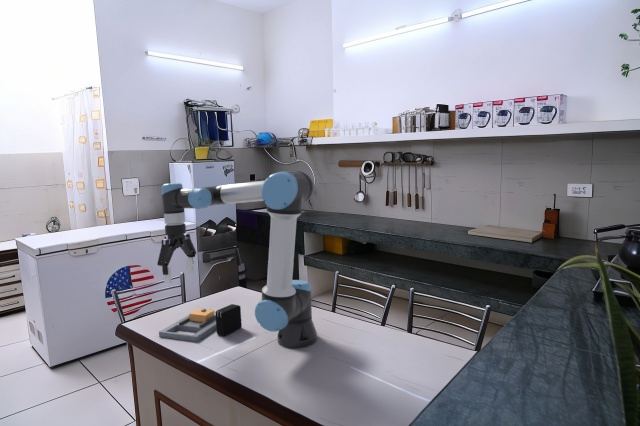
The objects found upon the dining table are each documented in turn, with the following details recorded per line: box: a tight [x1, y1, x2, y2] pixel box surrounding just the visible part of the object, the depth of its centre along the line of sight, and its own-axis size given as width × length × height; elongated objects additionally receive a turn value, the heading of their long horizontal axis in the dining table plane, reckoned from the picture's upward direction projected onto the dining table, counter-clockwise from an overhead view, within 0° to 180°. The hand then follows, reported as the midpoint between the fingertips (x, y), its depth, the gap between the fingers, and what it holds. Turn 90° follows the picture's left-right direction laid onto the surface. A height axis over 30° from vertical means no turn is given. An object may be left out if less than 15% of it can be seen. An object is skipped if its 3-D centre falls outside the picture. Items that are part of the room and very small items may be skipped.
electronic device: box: [215, 303, 242, 337], centre depth 166 cm, size 4×10×10 cm, turn 148°
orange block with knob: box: [188, 308, 216, 322], centre depth 176 cm, size 8×6×4 cm
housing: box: [158, 314, 217, 343], centre depth 170 cm, size 18×19×3 cm
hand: (179, 277), depth 159 cm, fingers open, 13 cm apart
